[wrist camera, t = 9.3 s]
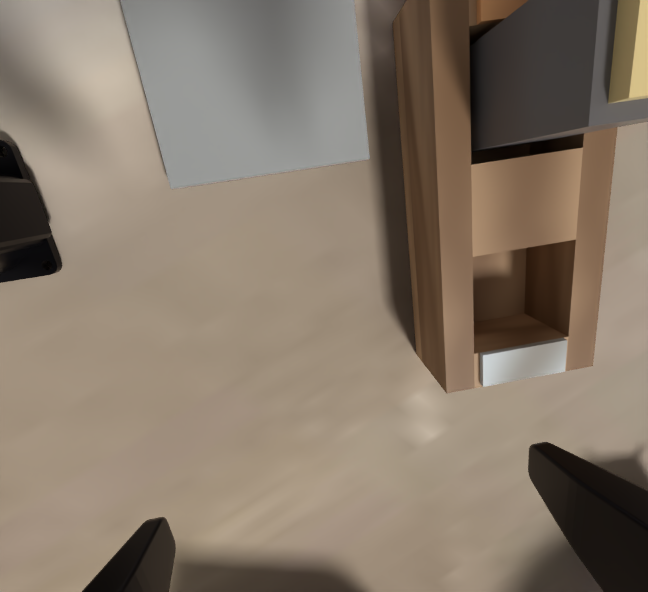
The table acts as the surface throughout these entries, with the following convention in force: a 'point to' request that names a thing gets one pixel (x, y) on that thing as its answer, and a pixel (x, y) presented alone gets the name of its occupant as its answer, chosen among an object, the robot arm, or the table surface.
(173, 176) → the deck
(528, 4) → the plug
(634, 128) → the table surface
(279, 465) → the table surface
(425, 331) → the socket strip
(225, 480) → the table surface
